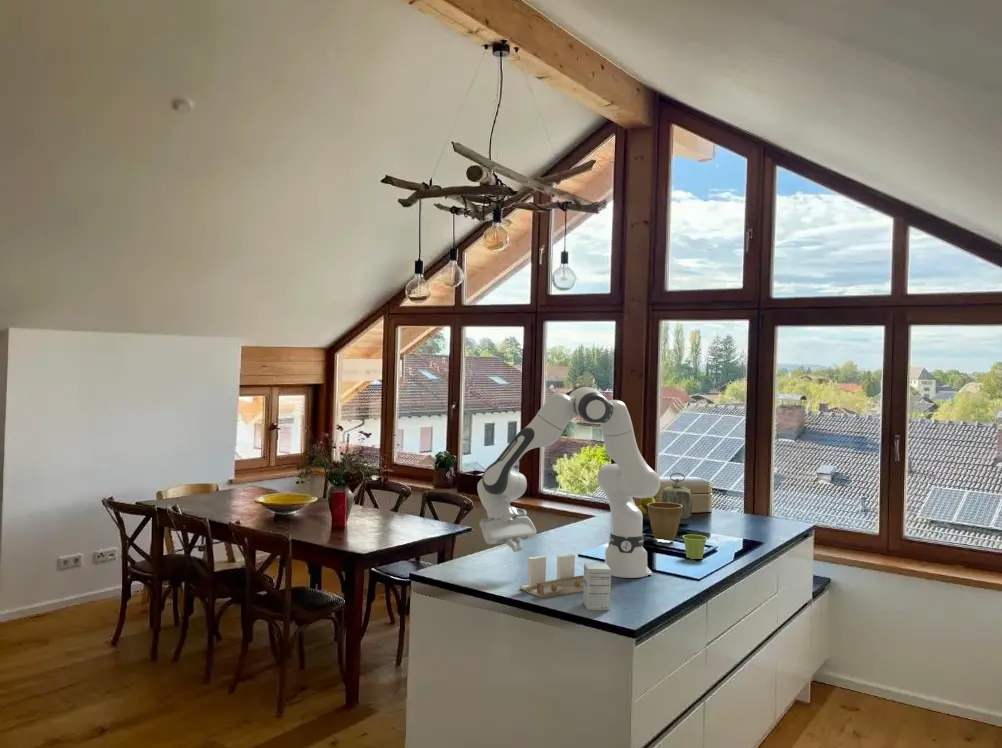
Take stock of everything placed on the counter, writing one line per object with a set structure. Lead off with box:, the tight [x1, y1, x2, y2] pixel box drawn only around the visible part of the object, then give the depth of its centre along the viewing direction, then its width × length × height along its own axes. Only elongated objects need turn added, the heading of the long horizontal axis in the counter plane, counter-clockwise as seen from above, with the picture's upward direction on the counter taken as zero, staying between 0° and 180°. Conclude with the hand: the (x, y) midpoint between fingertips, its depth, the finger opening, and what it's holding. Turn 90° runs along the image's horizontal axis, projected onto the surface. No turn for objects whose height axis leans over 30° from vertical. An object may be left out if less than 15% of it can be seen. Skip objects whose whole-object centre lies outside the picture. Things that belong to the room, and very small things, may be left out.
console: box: [519, 575, 584, 599], centre depth 261 cm, size 12×19×4 cm, turn 126°
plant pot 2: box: [682, 534, 708, 560], centre depth 311 cm, size 9×9×9 cm
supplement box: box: [582, 562, 612, 611], centre depth 243 cm, size 7×7×13 cm
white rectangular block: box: [526, 555, 547, 587], centre depth 261 cm, size 2×6×9 cm, turn 126°
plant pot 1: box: [646, 501, 682, 540], centre depth 343 cm, size 15×15×16 cm
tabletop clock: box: [661, 472, 693, 523], centre depth 384 cm, size 14×9×25 cm, turn 79°
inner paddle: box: [556, 553, 576, 580], centre depth 264 cm, size 2×6×9 cm, turn 126°
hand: (518, 550), depth 269 cm, fingers closed
